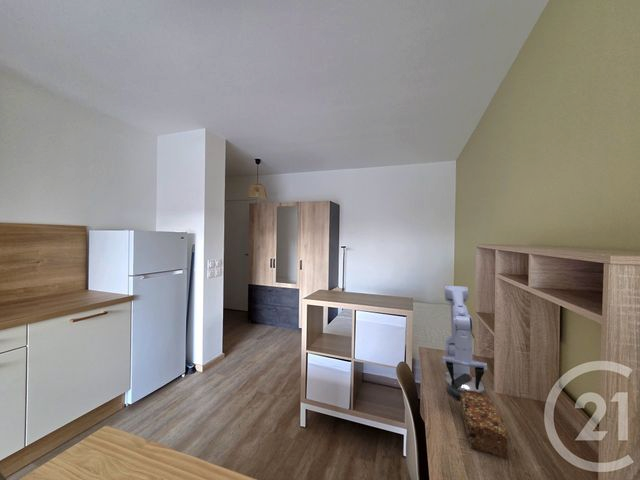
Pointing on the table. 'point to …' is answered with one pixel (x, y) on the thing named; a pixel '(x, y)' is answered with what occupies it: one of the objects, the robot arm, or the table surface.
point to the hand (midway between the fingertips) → (464, 386)
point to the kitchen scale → (455, 391)
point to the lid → (464, 382)
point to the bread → (483, 423)
